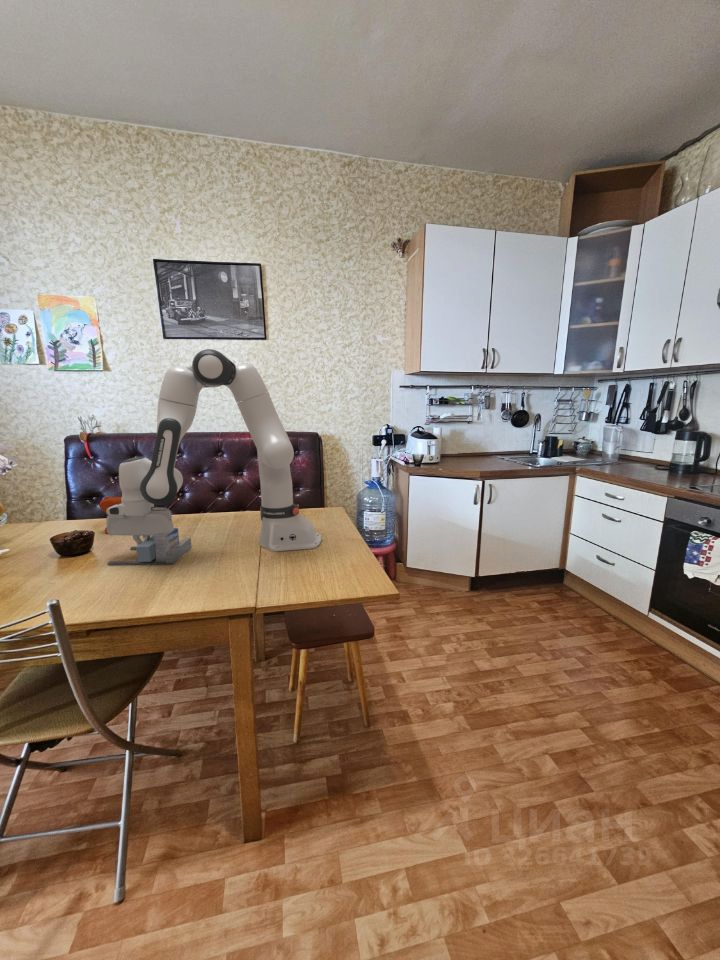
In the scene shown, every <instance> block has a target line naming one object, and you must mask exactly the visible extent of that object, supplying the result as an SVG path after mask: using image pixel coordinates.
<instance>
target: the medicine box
mask: <svg viewBox="0 0 720 960" xmlns="http://www.w3.org/2000/svg"><path fill="white" fill-rule="evenodd" d="M179 534H180V533H179V528H177V527H174V530H173V531H172V532H170V533H161V534H156V535H155V536H154V544H155V552H156V558H155V561H166V556H165V553H166V552H167V551H169V550H170V549H171V548H172V547H174V546H175V545H176V544H177V543H179V542H180V536H179Z"/></svg>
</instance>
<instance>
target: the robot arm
mask: <svg viewBox="0 0 720 960" xmlns="http://www.w3.org/2000/svg"><path fill="white" fill-rule="evenodd" d="M191 363H192V365H191V366H183V365H182V366H181V365H173V366H171V367H169V368H168V369H167V370H166V372H165V374H164V376H163V379H162V383H161V386H160V391H159V396H158V402H157V420H156V422H157V423H156V438H155V442H154V443H155V444H154V448H153V453H152V459H151V460H150V459H149V458H147V457H145V456H136V457H131V458H127V459H125V460H124V461H123V460H122V462H121V463H120V464H119V467H118V483H119V488H120V490H121V497H122V498H121V500H122V503H119V504H116V505H114V506H112V507H110V508H108V509H107V510H106V512H107V514H108V517H107V516H106V521H105V523H106V527H107V532H108V533H109V534H108V535H110V536H132V539H133V541H134V542H135V543H136V546H138V545H139V544H141V543H142V542H144V541H145V540H147V539H149V538H150V537H151V536H155V535H156V534H161V533H170V532H172V531H173V530H174V528H175V527H174V522H173V519H172V518H173V517H172V511H171V510H170V509H169V508H167V507H163V506H162V507H158V506H161V505H166V504H169V503H171V502H172V501H173V500H174V499H175V497H176V496H177V494H178V493H179V490H180V489H181V488H182V487H183V483H184V476H183V474H182V472H181V471H180V470H179V469H178V468H176V461H177V456H178V450H179V446H180V444H181V441H182V439H183V438H184V436H185V434H186V433H187V432H188V431H189V429H190V428H191V427H192V425H193V423H194V422H193V421H194V419H195V416H196V412H197V409H198V408H197V407H198V402H199V401H198V400H199V397H200V393H201V391H202V389H204V388H217V387H222V386H225V387H227V388H228V389H229V390H230V391H231V394H232V396H233V398H234V400H235V403H236V405H237V407H238V410H239V412H240V414H241V417H242V419H243V422H244V423H245V427H247V430H248V432H249V434H250V437H251V439H252V441H253V443H254V445H255V447H256V453H257V464H258V473H259V474H258V475H259V483H260V499H261V505H260V510H259V512H260V513H259V514H260V521H261V530H260V537H259V541H258V544H259V546H261V547H263V548H265V549H268V550H269V551H270V552H282V551H283V552H284V551H295V550H308V549H309V550H310V549H311V550H312V549H316V548H317V547H319V546H320V545H321V544H322V535H321V534H320V533H319V532H316V529H315V525H314V523H313V522H312V521H311V520H310V519H308V518H306V517H305V516H304V515H302V514H301V513H300V507H299V505H300V504H295V503H294V499H293V498H294V495H293V494H294V493H293V492H294V491H293V479H292V473H291V466H290V464H291V463H292V462H293V460H294V456H295V451H294V447H293V444H292V442H291V441H290V438H289V436H288V433H287V431H286V430H285V428H284V425H283V423H282V421H281V419H280V417H279V415H278V413H277V411H276V410H277V409H276V407H275V406H274V403H273V400H272V398H271V395H270V393H269V391H268V388H267V386H266V384H265V382H264V380H263V378H262V376H261V375H260V372H259V371H258V370H257V368H256V367H255V366H254V365H253V364H250V363H244V362H243V363H239V364H235V363H234V362H233V361H232V360H230V358H228V357H227V356H225V354H223V353H221V352H220V351H218V350H216V349H209V348H208V349H207V348H206V349H203V350H200V351H199V352H197V354H196V355H195V356H194V357H193V360H192V362H191ZM156 505H157V506H156ZM106 512H105V513H106ZM141 536H142V539H143V541H142V539H141Z"/></svg>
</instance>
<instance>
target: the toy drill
mask: <svg viewBox="0 0 720 960" xmlns="http://www.w3.org/2000/svg"><path fill="white" fill-rule="evenodd" d="M121 498H122V496H117V497H115V496H105V497H103V498H102V499H101V500H100V502H99V504H98V505H99V508H100V510H101V511H103V512H104V513H105V514H106V518H107V517H108V514H107V512H106V510H107V509H108V508H110V507H112V506H114V505H116V504H119V503H122V500H121ZM104 533H105V534H106V535H110V534H109V533H108V532H107V526H106V527H105V529H104Z"/></svg>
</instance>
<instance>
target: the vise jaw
mask: <svg viewBox="0 0 720 960" xmlns="http://www.w3.org/2000/svg"><path fill="white" fill-rule="evenodd" d="M143 541H144V540H143ZM135 551H136V556H137V561H138V562H151V561H155V560H156V552H155V544H154V536H150V538H149V539H147V540H145V541H144V542H142V543H141V544H139V545H138V546H137V545H136V550H135Z"/></svg>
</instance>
